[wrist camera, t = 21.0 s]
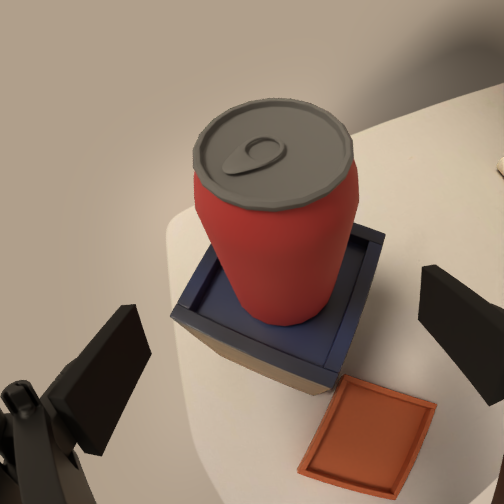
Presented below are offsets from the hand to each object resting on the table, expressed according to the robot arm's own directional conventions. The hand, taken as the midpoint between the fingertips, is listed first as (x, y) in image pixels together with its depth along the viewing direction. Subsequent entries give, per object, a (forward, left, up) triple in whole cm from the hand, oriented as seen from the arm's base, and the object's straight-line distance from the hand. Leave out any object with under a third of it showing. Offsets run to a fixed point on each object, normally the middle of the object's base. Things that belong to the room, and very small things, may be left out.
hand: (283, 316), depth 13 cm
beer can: (+4, +2, -6) cm, 8 cm away
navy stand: (+4, +2, -20) cm, 21 cm away
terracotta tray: (-4, -11, -20) cm, 24 cm away
